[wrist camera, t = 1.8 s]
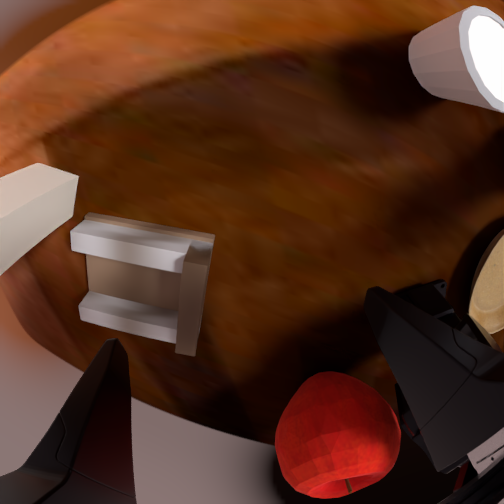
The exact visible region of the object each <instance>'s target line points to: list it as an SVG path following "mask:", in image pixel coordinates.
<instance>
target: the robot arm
mask: <svg viewBox="0 0 504 504" xmlns="http://www.w3.org/2000/svg"><path fill="white" fill-rule="evenodd" d="M446 287H447V283H446V282H445V280H443V279H442V280H438V281H436V282H433V283H430V284H427V285H424V286H421V287H418V288H415V289H412V290H409V291H406V292H403V293H400V294H397V295H394V294H392V293H390V292H388V291H386V290H384V289H383V288H381V287H379V286H375V287H372V288H369V289H368V290H367V293H366V297H365V301H364V310H365V313H366V315H367V318H368V320H369V323H370V325H371V328H372V330H373V333H374V335H375V338H376V340H377V342H378V345H379V347H380V349H381V351H382V352H383V354H384V356H385V358H386V360H387V362H388V364H389V366H390V368H391V370H392V372H393V374H394V376H395V378H396V380H397V383H396V384H395V390H396V396H397V403H398V410H399V417H400V423H401V426H402V427H403V429H404V430H405V432H406V433H407V434H408V436H409V437H410V438H411V439H412V440H413V441H414V442H415V443H417V444H418V445H419V446H420V447H421V448H422V449H423V450H424V452H425V453H426V454H427V456H428V457H429V459H430V460H431V462H432V464H433V465H434V467H435V469H437V471H441V472H443V473H445V474H446V473H448V472H450V471H452V470H453V469H454V468H456V467H461V469H460V472H459V476H458V479H457V482H456V485H455V488H454V493H453V494H452V495H450V496H449V497H447V498H446V499H445V500H443V501H441V502H440V503H438V504H504V353H502V351H501V349H500V347H499V346H498V344H497V343H496V342H495V340H494V339H493V338H492V337H491V336H490V334H489V333H488V332H487V331H486V330H485V328H483V327H482V326H481V325H480V324H479V323H478V322H477V321H476V320H475V319H474V318H473V317H471V316H470V315H469V314H468V313H466V314H465V315H464V317H463V319H462V320H460V318H459V317H458V316H457V315H456V313H455V312H454V308H453V307H452V306H451V305H450V304H449V302H448V301H447V300H446V299H445V294H446ZM0 504H137V503H136V495H135V485H134V473H133V458H132V433H131V388H130V377H129V365H128V355H127V353H126V351H125V349H124V347H123V346H122V344H121V342H120V341H119V339H117V338H113V339H107V340H106V341H105V343H104V344H103V345H102V347H101V348H100V350H99V351H98V353H97V354H96V356H95V357H94V359H93V360H92V362H91V363H90V365H89V366H88V368H87V369H86V371H85V372H84V374H83V375H82V377H81V378H80V380H79V381H78V383H77V385H76V386H75V388H74V389H73V391H72V392H71V394H70V396H69V397H68V399H67V400H66V402H65V404H64V405H63V407H62V408H61V410H60V413H58V415H57V416H56V418H55V420H54V421H53V423H52V424H51V426H50V428H49V429H48V431H47V432H46V434H45V435H44V437H43V438H42V439H41V441H40V442H39V444H38V445H37V447H36V448H35V449H34V451H33V452H32V453H31V455H30V456H29V458H28V459H27V461H26V462H25V463H24V464H23V465H22V466H21V467H20V468H19V469H17V470H15V471H13V472H11V473H8V474H6V475H3V476H1V477H0Z"/></svg>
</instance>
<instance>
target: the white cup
mask: <svg viewBox="0 0 504 504" xmlns="http://www.w3.org/2000/svg"><path fill="white" fill-rule="evenodd" d="M409 62H410V65H411V68H412V71H413V74H414V76H415V77H416V78H417V80H418V81H419V83H420V84H421V86H422V87H423V88H425V89H426V90H427V91H428V92H429V93H431V94H432V95H434V96H437V97H440V98H444V99H449V100H454V101H459V102H463V103H468V104H472V105H476V106H480V107H484V108H488V109H491V110H495V111H499V112H502V113H504V21H503V20H502V19H501V18H500V17H499V16H498V15H496V14H495V13H493V12H492V11H490V10H489V9H487V8H484V7H479V6H471V7H469V8H467V9H465V10H462V11H460V12H458V13H456V14H454V15H452V16H450V17H448V18H446V19H444V20H442V21H440V22H438V23H436V24H434V25H432V26H430V27H428V28H427V29H425V30H423V31H421V32H420V33H418V34H417V35H415V36H414V37H413V38H412V40H411V43H410V45H409Z"/></svg>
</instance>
